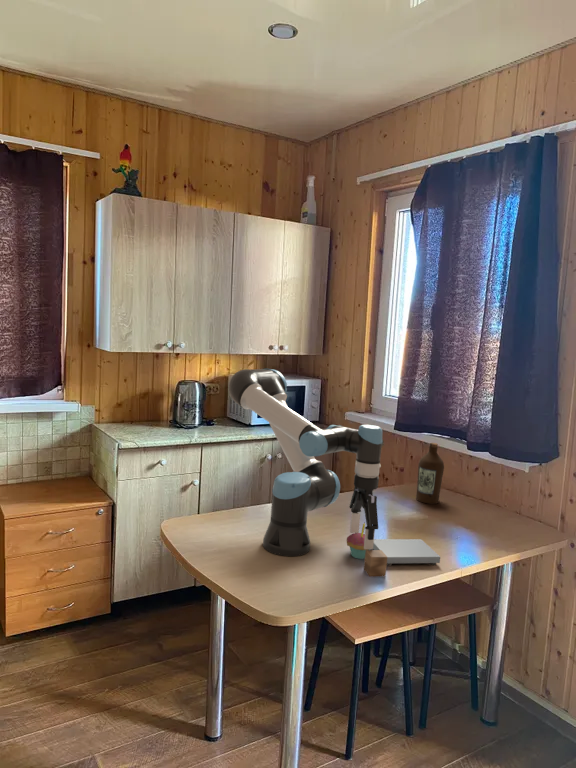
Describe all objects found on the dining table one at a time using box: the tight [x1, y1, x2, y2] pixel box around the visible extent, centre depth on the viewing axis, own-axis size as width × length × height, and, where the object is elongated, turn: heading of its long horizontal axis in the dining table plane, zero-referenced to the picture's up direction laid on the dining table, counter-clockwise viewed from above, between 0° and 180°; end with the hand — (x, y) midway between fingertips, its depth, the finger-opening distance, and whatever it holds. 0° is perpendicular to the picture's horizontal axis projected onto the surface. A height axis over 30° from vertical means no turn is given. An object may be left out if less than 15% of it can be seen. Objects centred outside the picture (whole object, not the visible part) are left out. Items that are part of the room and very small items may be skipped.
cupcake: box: [346, 521, 371, 560], centre depth 185 cm, size 9×8×12 cm
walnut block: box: [363, 549, 388, 578], centre depth 174 cm, size 5×5×6 cm
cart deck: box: [372, 538, 441, 567], centre depth 187 cm, size 18×14×3 cm
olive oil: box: [415, 442, 445, 505], centre depth 249 cm, size 11×11×25 cm
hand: (361, 540), depth 184 cm, fingers open, 13 cm apart
